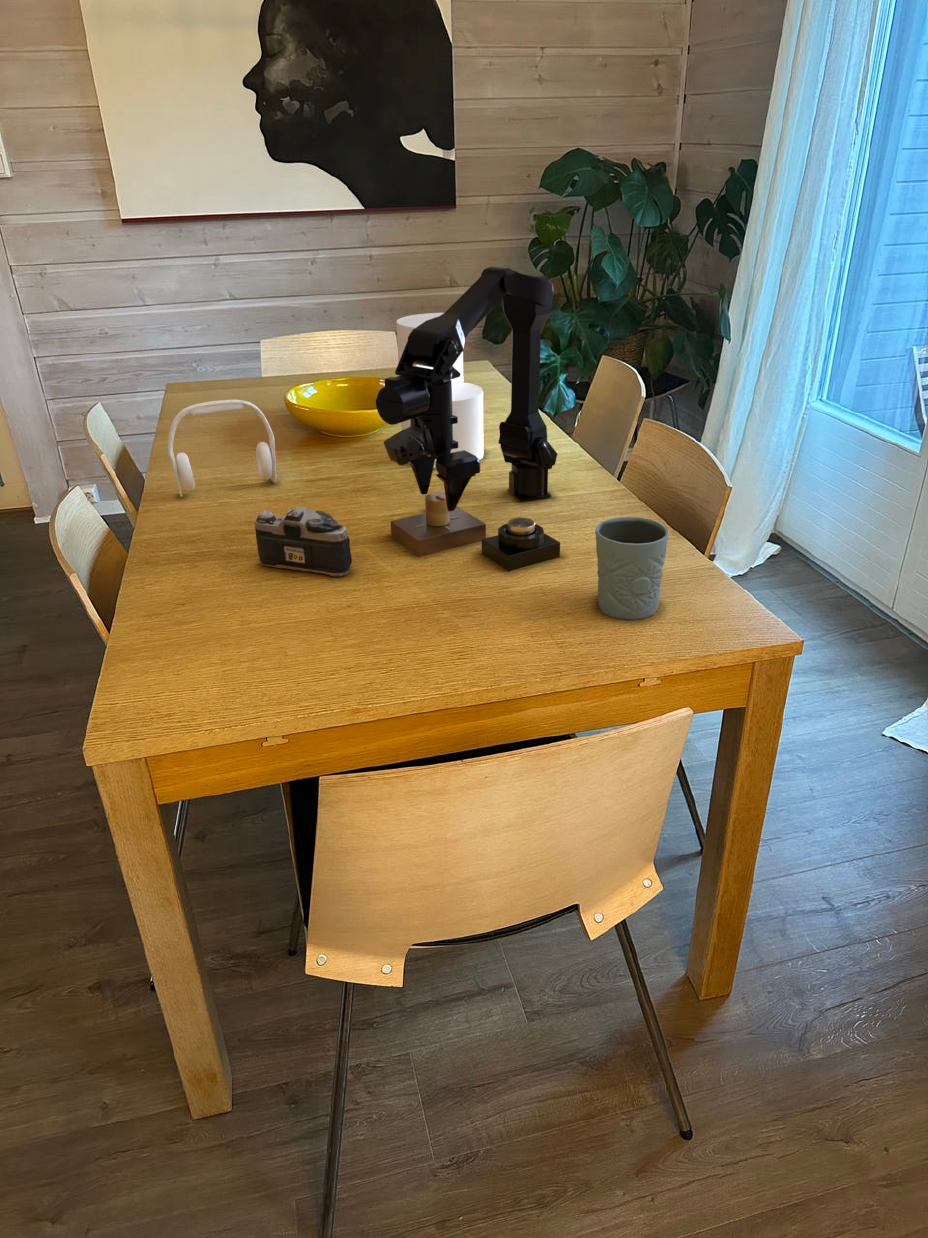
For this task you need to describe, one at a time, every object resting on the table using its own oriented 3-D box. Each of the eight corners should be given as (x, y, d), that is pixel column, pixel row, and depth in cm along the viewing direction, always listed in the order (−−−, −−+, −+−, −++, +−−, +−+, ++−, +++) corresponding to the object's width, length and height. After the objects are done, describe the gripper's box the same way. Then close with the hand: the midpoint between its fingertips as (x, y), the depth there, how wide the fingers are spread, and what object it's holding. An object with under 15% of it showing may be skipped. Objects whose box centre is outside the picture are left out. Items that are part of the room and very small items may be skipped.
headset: (178, 504, 170) (161, 411, 162) (174, 492, 176) (158, 402, 167) (283, 489, 177) (272, 399, 168) (276, 478, 182) (265, 390, 174)
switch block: (531, 541, 153) (532, 516, 150) (559, 557, 147) (560, 531, 144) (481, 554, 148) (481, 528, 146) (508, 571, 142) (508, 545, 140)
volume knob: (421, 521, 153) (420, 494, 151) (440, 515, 155) (440, 489, 153) (434, 528, 150) (433, 501, 148) (454, 522, 152) (453, 495, 150)
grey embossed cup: (645, 628, 125) (652, 549, 120) (579, 611, 130) (583, 534, 124) (671, 599, 133) (679, 524, 127) (608, 584, 138) (613, 510, 132)
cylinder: (386, 460, 191) (378, 323, 178) (432, 439, 204) (427, 310, 191) (455, 473, 183) (452, 331, 170) (498, 450, 196) (498, 316, 183)
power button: (524, 525, 148) (524, 515, 147) (539, 534, 145) (540, 524, 144) (502, 531, 146) (502, 521, 145) (517, 540, 143) (517, 529, 142)
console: (456, 521, 161) (455, 504, 159) (486, 540, 153) (486, 522, 152) (391, 537, 155) (390, 519, 154) (418, 557, 147) (418, 539, 146)
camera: (370, 555, 148) (366, 497, 144) (342, 581, 140) (337, 521, 135) (285, 543, 153) (278, 487, 148) (253, 568, 145) (245, 509, 140)
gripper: (363, 404, 147) (369, 495, 155) (417, 432, 133) (421, 530, 140) (423, 394, 152) (426, 482, 160) (481, 420, 138) (482, 515, 145)
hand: (437, 502), depth 151 cm, fingers open, 9 cm apart
